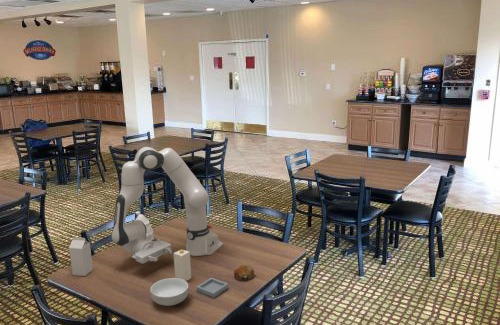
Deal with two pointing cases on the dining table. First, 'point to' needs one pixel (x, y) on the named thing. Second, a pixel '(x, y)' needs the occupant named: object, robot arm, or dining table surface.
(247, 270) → the bread roll
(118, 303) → the dining table surface
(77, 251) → the milk carton
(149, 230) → the honey pot
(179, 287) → the cereal bowl
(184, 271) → the juice box
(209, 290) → the tray
